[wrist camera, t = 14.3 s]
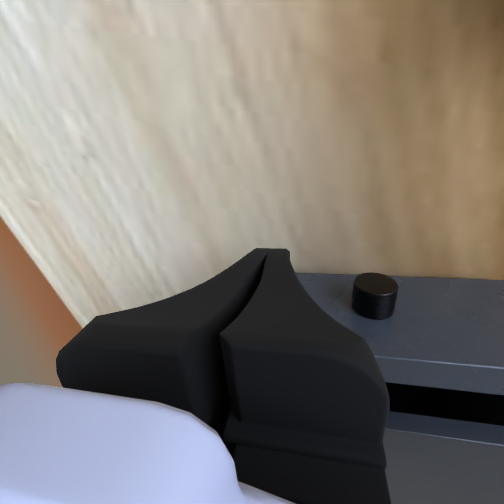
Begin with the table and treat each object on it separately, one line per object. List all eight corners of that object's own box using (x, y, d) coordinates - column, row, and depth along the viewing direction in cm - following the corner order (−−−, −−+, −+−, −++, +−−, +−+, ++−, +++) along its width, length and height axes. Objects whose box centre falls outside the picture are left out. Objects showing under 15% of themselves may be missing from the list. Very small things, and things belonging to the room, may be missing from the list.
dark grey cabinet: (238, 296, 17) (195, 401, 11) (497, 311, 14) (639, 465, 8) (255, 439, 23) (234, 556, 17) (436, 469, 20) (488, 623, 14)
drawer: (239, 250, 14) (203, 314, 10) (519, 255, 12) (649, 347, 7) (258, 425, 21) (242, 514, 16) (441, 454, 18) (484, 570, 13)
